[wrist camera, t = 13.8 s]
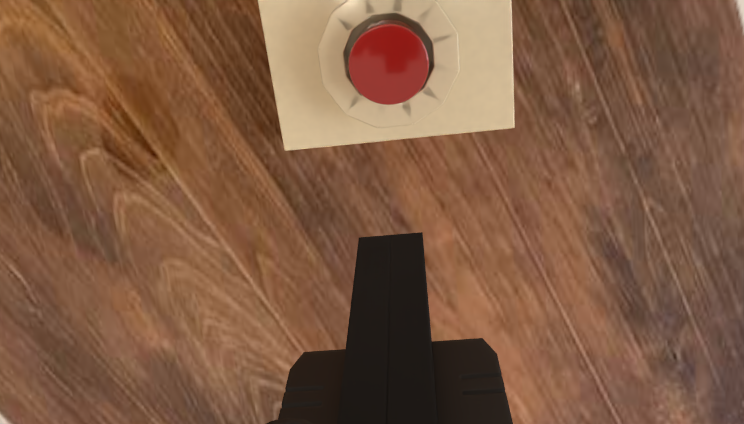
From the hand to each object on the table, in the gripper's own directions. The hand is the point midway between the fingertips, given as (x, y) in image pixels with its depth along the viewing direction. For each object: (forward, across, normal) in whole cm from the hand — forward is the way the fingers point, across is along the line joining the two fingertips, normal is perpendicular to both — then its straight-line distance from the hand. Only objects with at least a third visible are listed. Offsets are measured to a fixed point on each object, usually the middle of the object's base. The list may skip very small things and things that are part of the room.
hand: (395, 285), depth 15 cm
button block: (+21, 0, +2) cm, 21 cm away
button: (+17, 0, +2) cm, 17 cm away
